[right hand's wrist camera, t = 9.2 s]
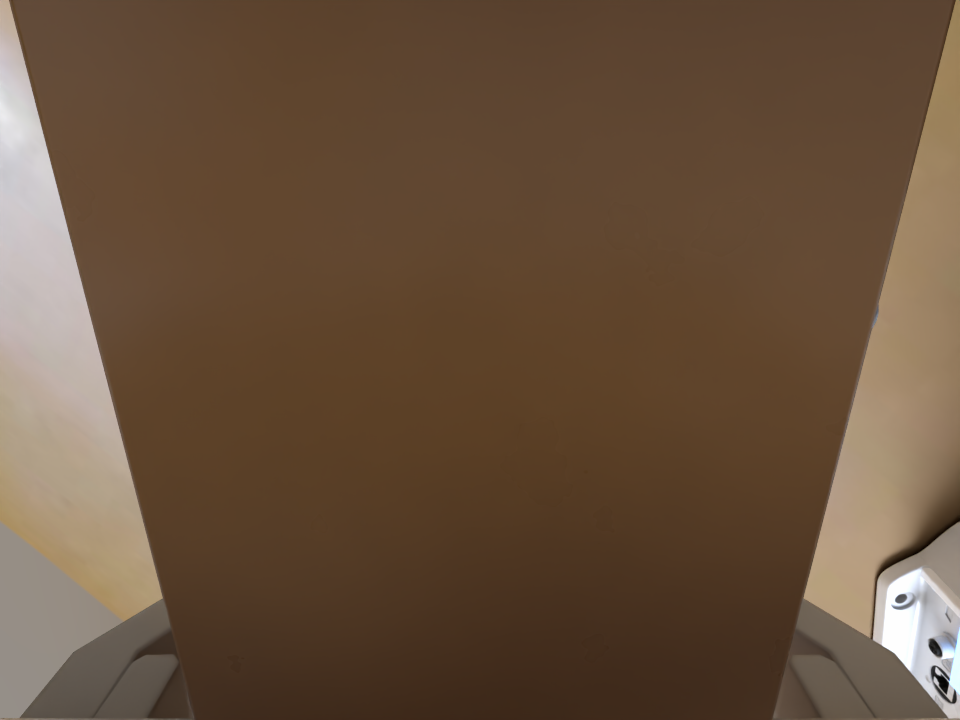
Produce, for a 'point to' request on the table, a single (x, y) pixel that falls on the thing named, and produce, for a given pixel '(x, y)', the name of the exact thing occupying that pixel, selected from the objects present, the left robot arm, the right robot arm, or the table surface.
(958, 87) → the table surface
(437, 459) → the bar
